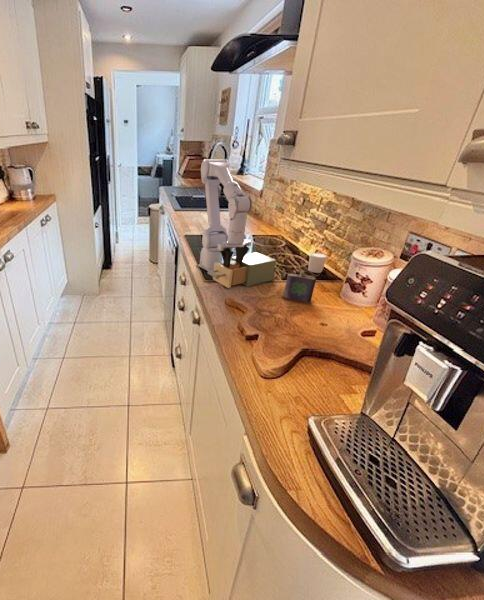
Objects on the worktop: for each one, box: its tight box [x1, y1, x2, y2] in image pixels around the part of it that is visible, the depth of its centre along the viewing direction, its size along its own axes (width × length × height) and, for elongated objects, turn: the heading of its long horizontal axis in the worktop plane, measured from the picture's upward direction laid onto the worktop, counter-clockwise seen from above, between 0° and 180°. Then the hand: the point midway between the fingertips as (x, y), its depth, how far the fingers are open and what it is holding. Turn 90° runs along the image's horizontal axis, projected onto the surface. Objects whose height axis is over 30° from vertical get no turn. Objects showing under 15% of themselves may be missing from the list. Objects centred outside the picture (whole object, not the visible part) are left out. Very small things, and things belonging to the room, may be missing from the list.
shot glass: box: [307, 252, 329, 274], centre depth 140 cm, size 7×7×7 cm
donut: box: [229, 261, 240, 270], centre depth 124 cm, size 5×5×3 cm
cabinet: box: [231, 252, 277, 287], centre depth 130 cm, size 14×11×9 cm
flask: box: [282, 270, 317, 304], centre depth 113 cm, size 9×3×11 cm, turn 65°
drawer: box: [206, 260, 249, 289], centre depth 125 cm, size 17×9×7 cm, turn 119°
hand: (232, 265), depth 124 cm, fingers closed on donut, 5 cm apart
